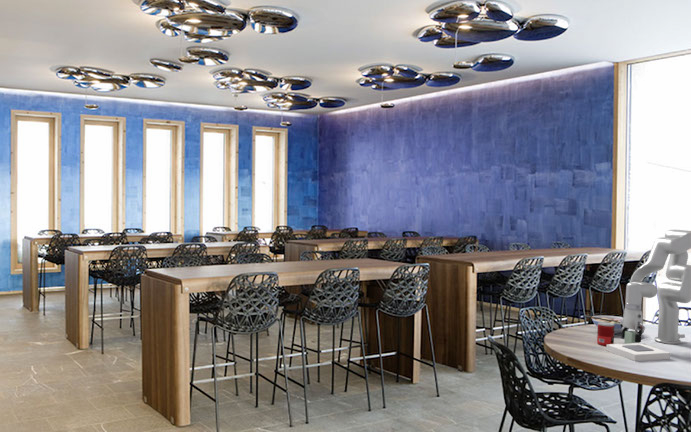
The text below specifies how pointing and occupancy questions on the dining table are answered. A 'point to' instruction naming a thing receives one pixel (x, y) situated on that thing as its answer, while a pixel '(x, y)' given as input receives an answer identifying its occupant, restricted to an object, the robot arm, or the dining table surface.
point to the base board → (637, 351)
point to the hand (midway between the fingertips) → (631, 339)
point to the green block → (630, 337)
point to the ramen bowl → (608, 319)
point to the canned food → (605, 333)
